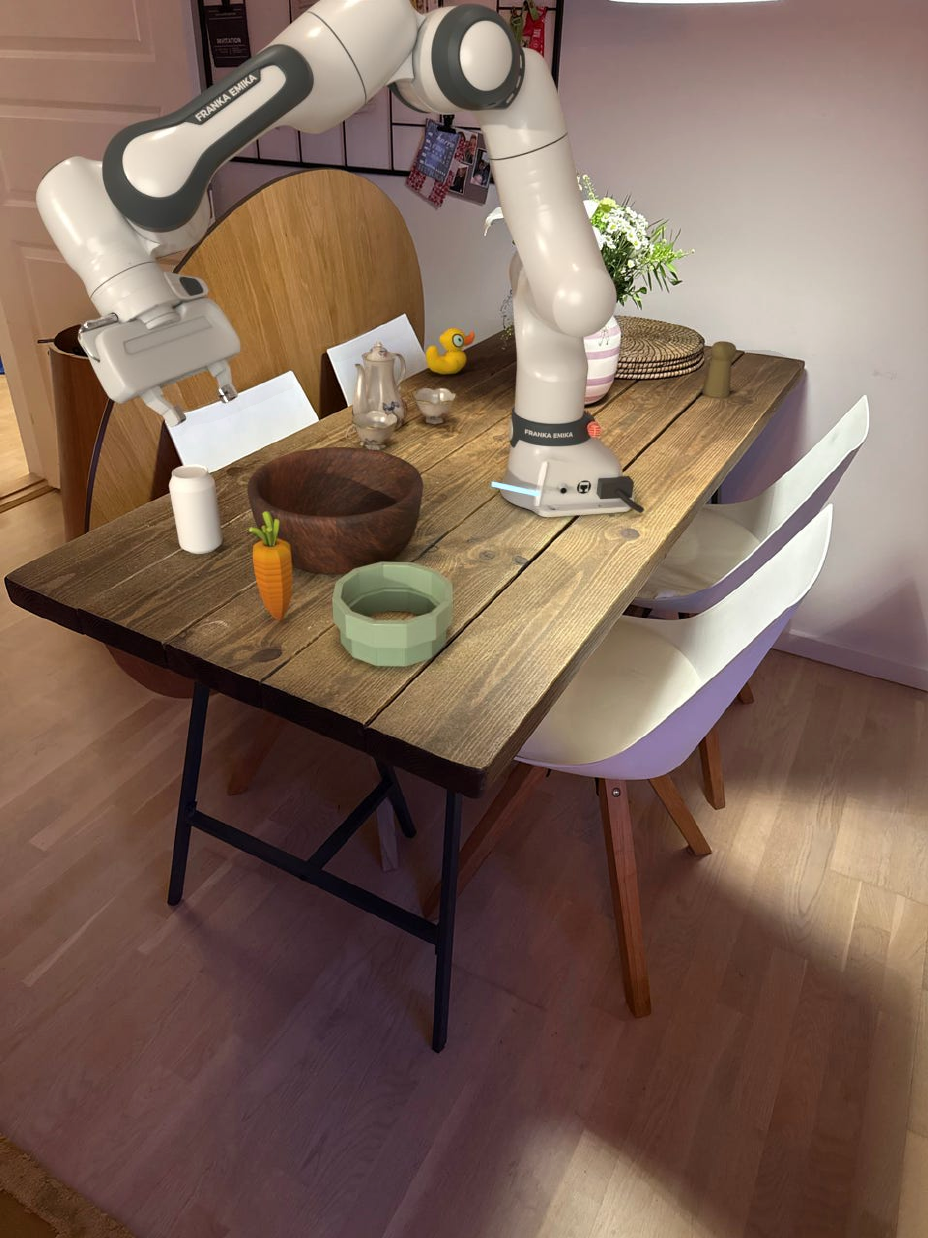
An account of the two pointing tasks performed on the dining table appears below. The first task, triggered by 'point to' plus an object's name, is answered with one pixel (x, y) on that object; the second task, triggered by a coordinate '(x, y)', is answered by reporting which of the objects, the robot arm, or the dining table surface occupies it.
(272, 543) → the carrot
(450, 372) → the duckling
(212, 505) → the beverage can
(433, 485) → the dining table surface
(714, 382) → the olive brown knobbed cylinder
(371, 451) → the wooden bowl
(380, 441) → the chinaware
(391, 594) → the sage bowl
